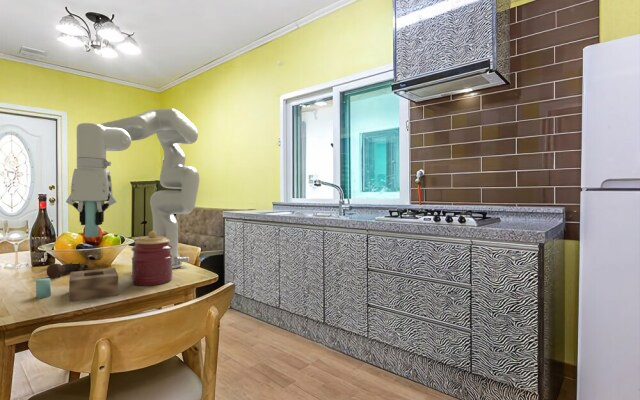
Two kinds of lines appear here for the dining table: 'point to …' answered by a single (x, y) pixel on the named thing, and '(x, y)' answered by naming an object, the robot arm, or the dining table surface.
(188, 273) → the dining table surface
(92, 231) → the tall dowel
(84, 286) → the socket block
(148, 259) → the canister
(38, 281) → the short dowel
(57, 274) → the bolt
